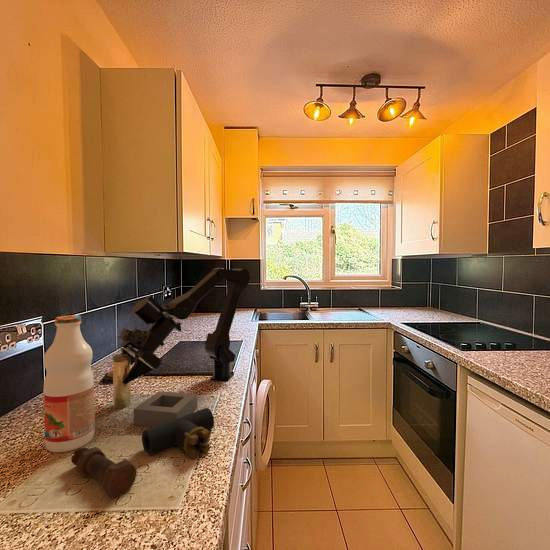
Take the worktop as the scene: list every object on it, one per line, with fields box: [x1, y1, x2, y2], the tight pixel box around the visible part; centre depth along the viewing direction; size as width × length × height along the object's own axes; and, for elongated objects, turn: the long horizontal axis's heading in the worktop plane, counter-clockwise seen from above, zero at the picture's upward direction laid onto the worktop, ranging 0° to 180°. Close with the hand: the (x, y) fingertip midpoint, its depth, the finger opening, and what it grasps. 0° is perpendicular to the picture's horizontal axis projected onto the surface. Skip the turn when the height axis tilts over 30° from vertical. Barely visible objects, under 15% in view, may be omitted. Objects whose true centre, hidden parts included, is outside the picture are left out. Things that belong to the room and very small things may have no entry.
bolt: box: [71, 446, 138, 499], centre depth 59 cm, size 6×5×15 cm
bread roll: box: [100, 369, 113, 386], centre depth 111 cm, size 11×8×4 cm
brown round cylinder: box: [112, 353, 132, 409], centre depth 90 cm, size 4×4×14 cm
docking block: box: [133, 390, 198, 428], centre depth 83 cm, size 11×11×4 cm
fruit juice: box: [43, 314, 96, 453], centre depth 71 cm, size 9×9×28 cm
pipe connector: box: [141, 407, 215, 459], centre depth 70 cm, size 12×5×15 cm
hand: (118, 378), depth 89 cm, fingers open, 9 cm apart
